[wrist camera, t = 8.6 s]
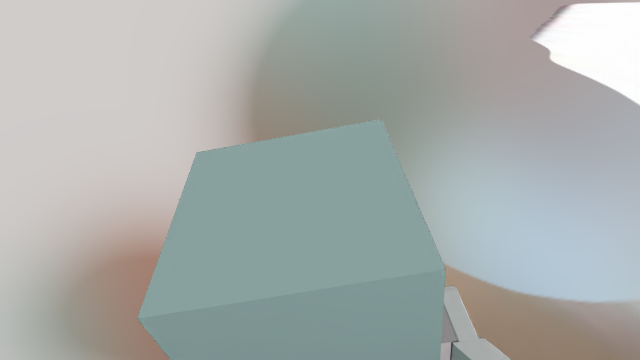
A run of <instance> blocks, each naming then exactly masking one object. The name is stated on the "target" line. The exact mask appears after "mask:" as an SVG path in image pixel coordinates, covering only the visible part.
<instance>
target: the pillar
mask: <svg viewBox="0 0 640 360" xmlns="http://www.w3.org/2000/svg"><path fill="white" fill-rule="evenodd" d="M445 272H446V269H445V266H444V264H443V262H442V259H441V257H440V255H439V252H438V250H437V248H436V245H435V243H434V241H433V238H432V236H431V234H430V231H429V229H428V227H427V224H426V222H425V220H424V217H423V215H422V213H421V210H420V208H419V206H418V203H417V201H416V199H415V196H414V194H413V192H412V189H411V187H410V185H409V182H408V180H407V178H406V175H405V173H404V171H403V168H402V166H401V164H400V161H399V159H398V157H397V154H396V152H395V150H394V147H393V145H392V143H391V140H390V138H389V136H388V133H387V131H386V129H385V126H384V124H383V122H382V120H376V121H370V122H365V123H359V124H353V125H348V126H342V127H337V128H331V129H326V130H320V131H314V132H308V133H303V134H297V135H292V136H286V137H280V138H274V139H269V140H263V141H258V142H252V143H247V144H241V145H235V146H230V147H224V148H219V149H213V150H208V151H202V152H197V153H196V156H195V158H194V161H193V164H192V167H191V170H190V172H189V175H188V178H187V181H186V184H185V186H184V189H183V192H182V195H181V198H180V200H179V203H178V206H177V209H176V212H175V214H174V217H173V221H172V223H171V226H170V229H169V231H168V234H167V237H166V240H165V242H164V245H163V248H162V251H161V254H160V257H159V259H158V262H157V265H156V267H155V270H154V273H153V276H152V279H151V282H150V284H149V287H148V290H147V293H146V296H145V298H144V301H143V304H142V307H141V309H140V312H139V315H138V318H137V319H138V320H139V321H140V323H141V324H142V325H143V327H144V328H145V329H146V330H147V331H148V333H149V334H150V335H151V336H152V338H153V339H154V340H155V341H156V343H157V344H158V345H159V346H160V348H161V349H162V350H163V351H164V353H165V354H166V355H167V356H168V358H169V359H170V360H440V353H441V337H442V321H443V304H444V288H445Z"/></svg>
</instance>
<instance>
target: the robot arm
mask: <svg viewBox="0 0 640 360" xmlns="http://www.w3.org/2000/svg"><path fill="white" fill-rule="evenodd" d="M440 360H511V359H510V358H509V357H507V356H506V355H505V354H504V353H502V352H501V351H500V350H499V349H497V348H496V347H495V346H494V345H492V344H491V343H490V342H489V341H487V340H486V339H485V338H478V336H477V333H476V331H475V329H474V326H473V324H472V322H471V320H470V317H469V315H468V313H467V311H466V308H465V306H464V304H463V301H462V299H461V297H460V295H459V292H458V290H457V288H456V287H455V286H453V285H452V286H447V287H445V288H444V304H443V321H442V337H441V353H440Z"/></svg>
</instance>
